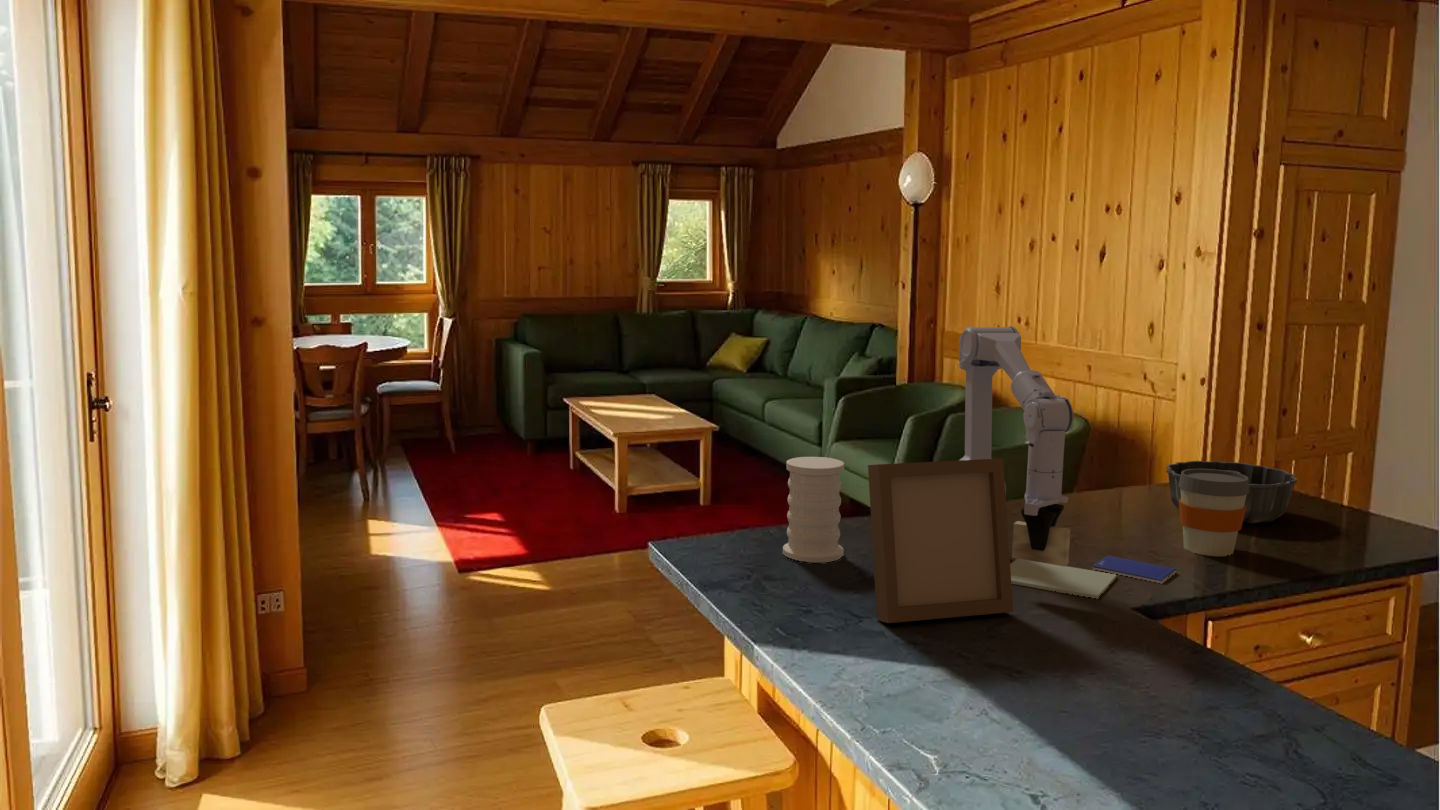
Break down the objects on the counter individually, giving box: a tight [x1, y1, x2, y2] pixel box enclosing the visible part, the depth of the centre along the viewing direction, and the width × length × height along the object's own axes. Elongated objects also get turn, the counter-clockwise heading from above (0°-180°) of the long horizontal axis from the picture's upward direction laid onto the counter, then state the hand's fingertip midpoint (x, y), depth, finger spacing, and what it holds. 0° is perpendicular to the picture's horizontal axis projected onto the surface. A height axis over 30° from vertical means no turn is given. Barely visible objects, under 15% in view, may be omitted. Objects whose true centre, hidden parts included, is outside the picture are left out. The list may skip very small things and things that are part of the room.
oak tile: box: [1011, 520, 1071, 566], centre depth 186 cm, size 9×2×6 cm, turn 58°
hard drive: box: [1092, 555, 1177, 585], centre depth 201 cm, size 2×8×12 cm
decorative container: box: [782, 456, 845, 562], centre depth 208 cm, size 12×12×18 cm
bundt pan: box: [1165, 460, 1298, 524], centre depth 243 cm, size 26×26×10 cm
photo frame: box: [867, 458, 1014, 624], centre depth 179 cm, size 15×22×25 cm
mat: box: [1010, 558, 1118, 600], centre depth 196 cm, size 18×14×1 cm
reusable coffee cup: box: [1178, 469, 1249, 557], centre depth 215 cm, size 13×13×15 cm
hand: (1040, 547), depth 186 cm, fingers closed on oak tile, 2 cm apart
